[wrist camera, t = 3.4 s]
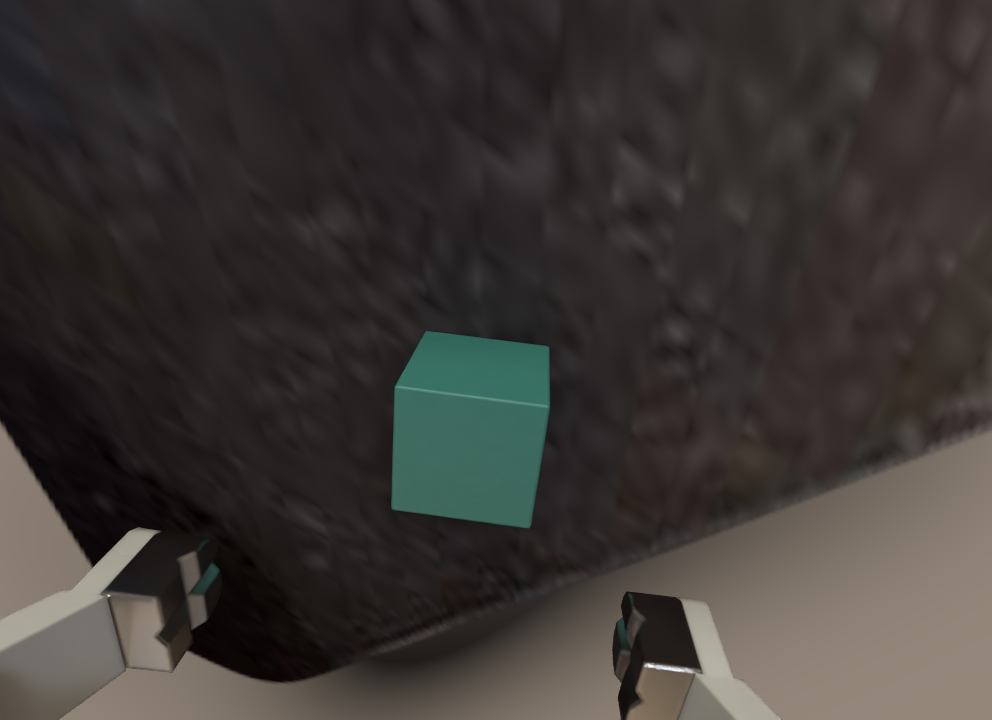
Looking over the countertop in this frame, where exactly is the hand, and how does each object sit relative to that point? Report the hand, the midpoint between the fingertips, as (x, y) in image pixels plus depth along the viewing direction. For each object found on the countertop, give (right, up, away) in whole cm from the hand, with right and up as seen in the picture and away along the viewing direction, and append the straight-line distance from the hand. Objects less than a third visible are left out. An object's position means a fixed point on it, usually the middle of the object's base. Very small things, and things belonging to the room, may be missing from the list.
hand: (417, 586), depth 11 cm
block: (+1, +3, +7) cm, 8 cm away
